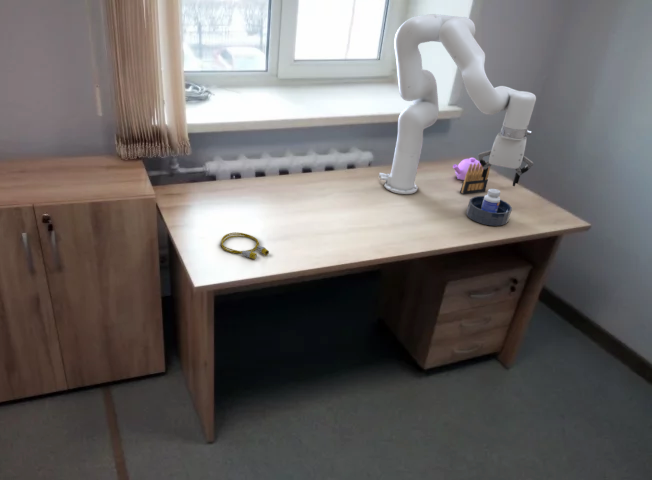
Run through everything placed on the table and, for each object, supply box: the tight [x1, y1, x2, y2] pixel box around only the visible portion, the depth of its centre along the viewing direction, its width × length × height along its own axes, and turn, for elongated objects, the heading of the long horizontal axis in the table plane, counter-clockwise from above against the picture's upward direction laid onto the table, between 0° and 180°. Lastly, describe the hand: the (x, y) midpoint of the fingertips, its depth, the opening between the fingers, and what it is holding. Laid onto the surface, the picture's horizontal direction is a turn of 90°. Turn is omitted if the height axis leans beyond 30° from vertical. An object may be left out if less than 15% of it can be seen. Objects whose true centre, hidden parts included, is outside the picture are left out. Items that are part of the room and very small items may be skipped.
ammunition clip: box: [459, 163, 491, 195], centre depth 202 cm, size 11×2×12 cm, turn 111°
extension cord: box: [220, 232, 270, 260], centre depth 158 cm, size 12×16×2 cm
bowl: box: [465, 195, 513, 227], centre depth 185 cm, size 14×14×5 cm
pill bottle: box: [481, 188, 501, 213], centre depth 183 cm, size 5×5×10 cm
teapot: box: [452, 157, 481, 182], centre depth 212 cm, size 10×15×9 cm
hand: (498, 182), depth 179 cm, fingers open, 9 cm apart
